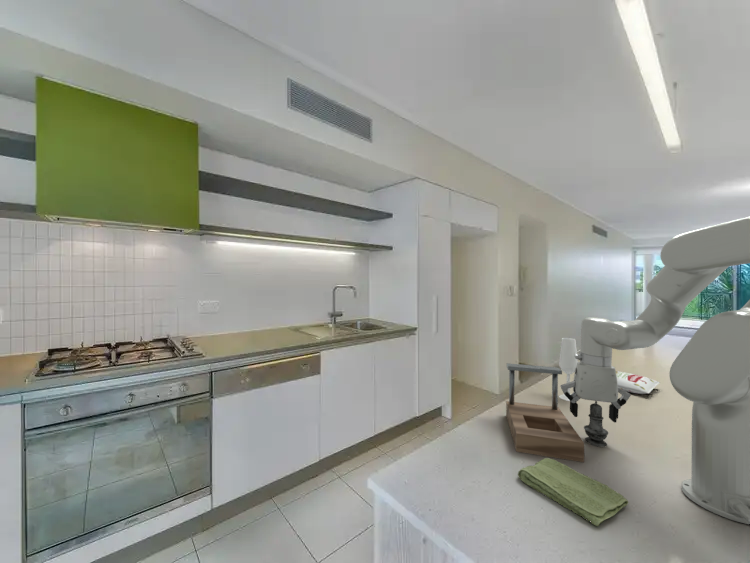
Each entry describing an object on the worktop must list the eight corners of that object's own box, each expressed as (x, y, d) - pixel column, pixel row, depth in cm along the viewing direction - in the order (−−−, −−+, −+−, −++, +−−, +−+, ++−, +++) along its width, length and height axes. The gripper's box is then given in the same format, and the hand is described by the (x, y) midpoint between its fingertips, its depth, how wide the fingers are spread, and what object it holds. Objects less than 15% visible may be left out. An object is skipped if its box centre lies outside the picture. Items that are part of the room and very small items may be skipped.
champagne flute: (582, 400, 122) (582, 339, 122) (570, 402, 119) (570, 340, 119) (566, 394, 128) (566, 337, 128) (554, 396, 126) (555, 337, 126)
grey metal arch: (561, 411, 98) (562, 370, 98) (507, 405, 103) (508, 366, 103) (558, 407, 102) (558, 367, 102) (506, 401, 106) (506, 363, 107)
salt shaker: (612, 448, 86) (613, 405, 86) (589, 446, 87) (589, 403, 87) (601, 438, 91) (602, 398, 92) (579, 436, 93) (580, 396, 93)
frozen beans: (594, 363, 156) (660, 375, 136) (594, 375, 156) (660, 388, 136) (578, 371, 143) (649, 386, 123) (578, 384, 143) (649, 400, 123)
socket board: (583, 462, 79) (584, 442, 79) (516, 451, 84) (516, 433, 84) (558, 422, 102) (558, 407, 102) (506, 415, 106) (506, 401, 106)
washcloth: (600, 534, 57) (600, 517, 57) (514, 480, 72) (514, 467, 72) (631, 508, 63) (631, 493, 63) (546, 464, 78) (546, 452, 78)
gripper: (565, 360, 89) (563, 418, 89) (637, 366, 83) (635, 428, 84) (558, 353, 96) (556, 408, 96) (624, 359, 91) (622, 416, 91)
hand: (593, 417), depth 90 cm, fingers open, 9 cm apart
